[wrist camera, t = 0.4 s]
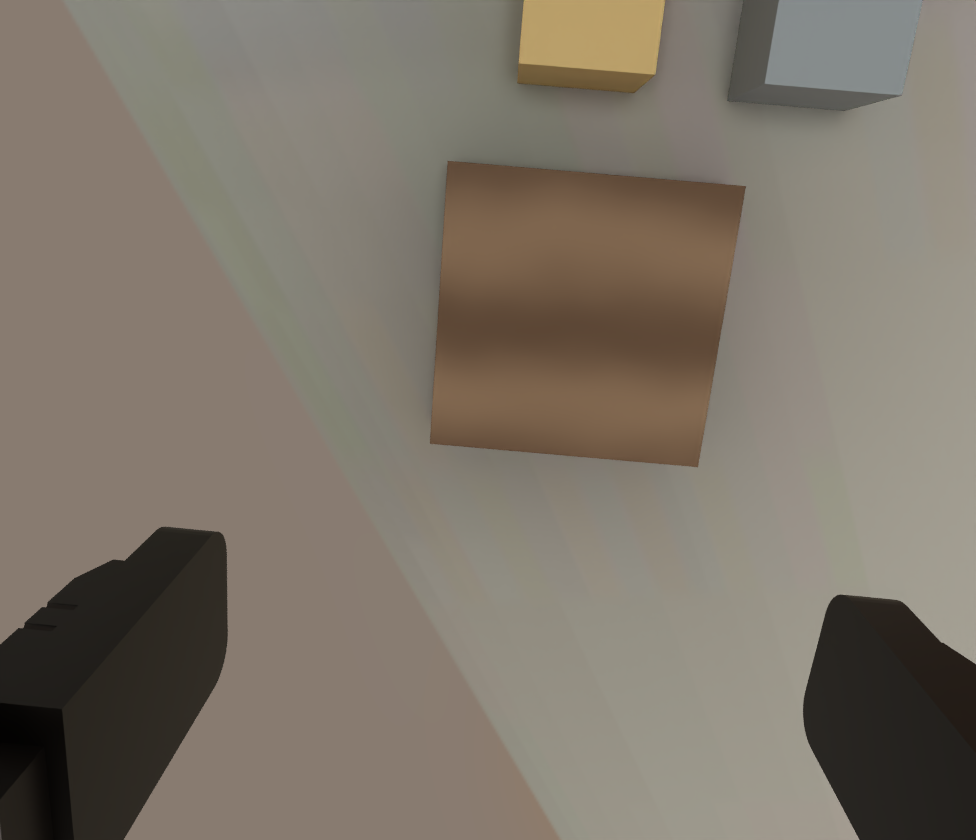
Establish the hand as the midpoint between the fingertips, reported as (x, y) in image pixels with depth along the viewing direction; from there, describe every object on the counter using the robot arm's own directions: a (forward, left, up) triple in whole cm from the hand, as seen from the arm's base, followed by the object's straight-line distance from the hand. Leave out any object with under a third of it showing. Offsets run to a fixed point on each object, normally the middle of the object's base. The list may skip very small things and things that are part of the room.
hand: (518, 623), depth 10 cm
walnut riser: (-1, +3, -26) cm, 26 cm away
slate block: (-13, +11, -26) cm, 31 cm away
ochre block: (-13, +2, -26) cm, 29 cm away
